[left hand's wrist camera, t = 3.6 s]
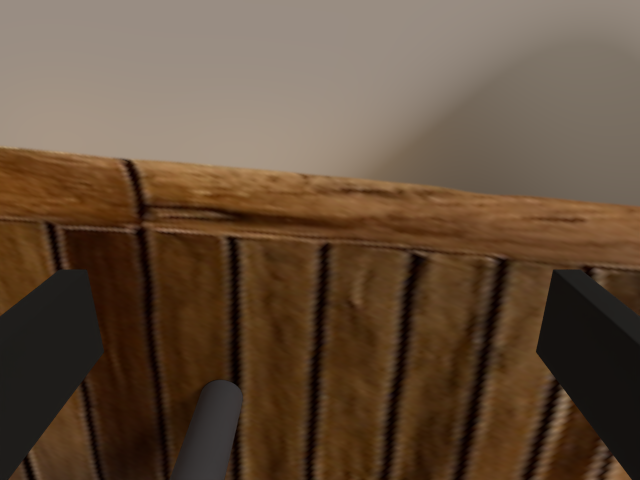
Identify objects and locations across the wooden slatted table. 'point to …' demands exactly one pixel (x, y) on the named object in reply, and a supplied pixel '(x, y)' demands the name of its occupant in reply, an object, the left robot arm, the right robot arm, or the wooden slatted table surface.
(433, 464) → the wooden slatted table surface
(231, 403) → the dark grey slim bottle
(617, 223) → the wooden slatted table surface
